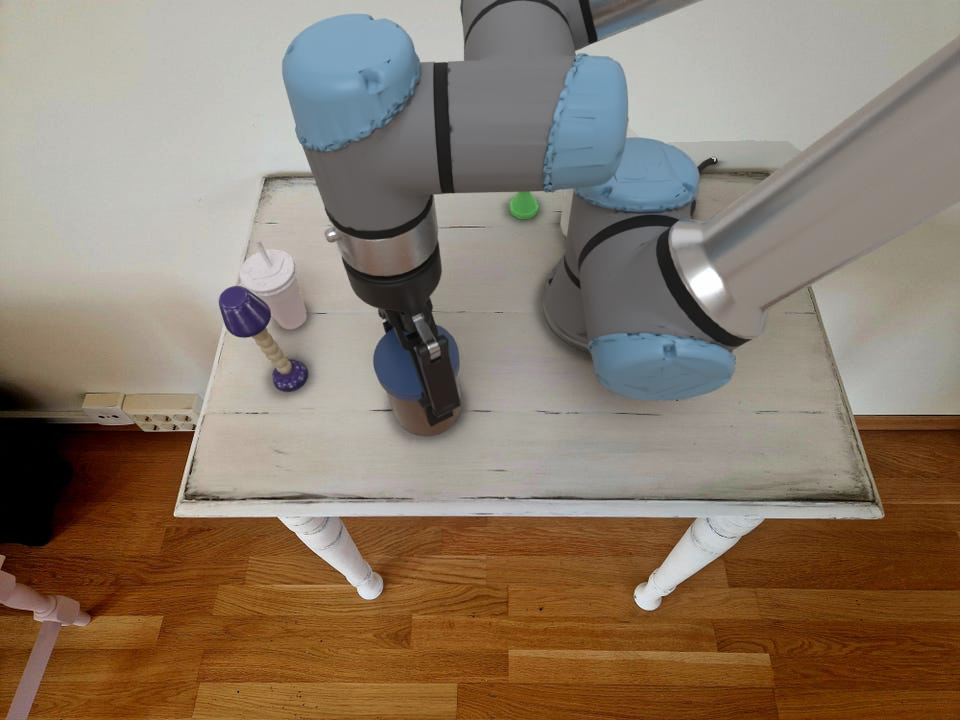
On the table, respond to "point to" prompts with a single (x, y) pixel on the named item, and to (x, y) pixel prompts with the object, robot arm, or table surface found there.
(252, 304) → the toy lamp
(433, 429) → the jar
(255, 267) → the smoothie
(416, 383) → the jar lid
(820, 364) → the table surface
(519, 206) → the game piece
